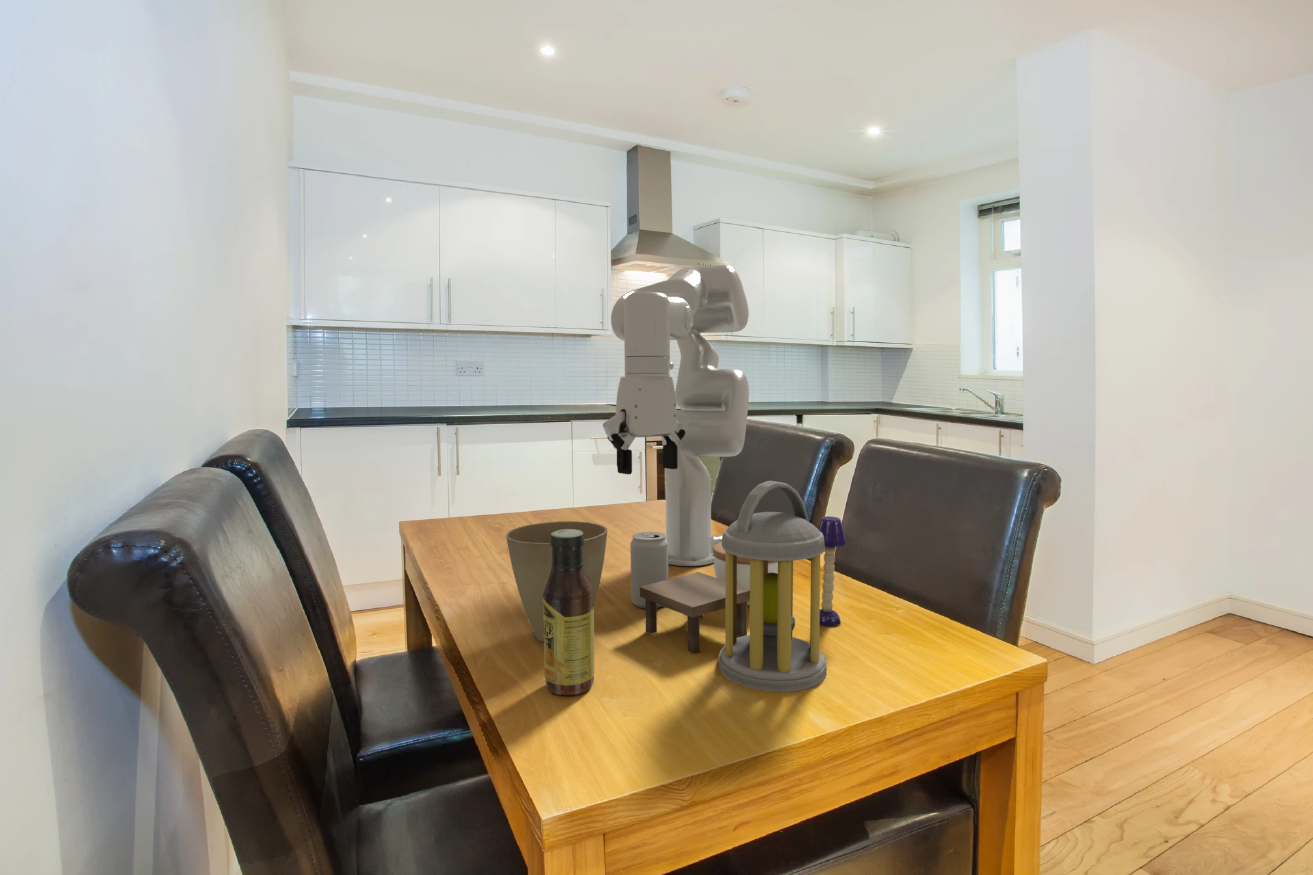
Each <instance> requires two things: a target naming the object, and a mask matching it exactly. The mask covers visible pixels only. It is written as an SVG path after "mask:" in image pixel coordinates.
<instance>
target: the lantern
mask: <svg viewBox="0 0 1313 875" xmlns="http://www.w3.org/2000/svg"><path fill="white" fill-rule="evenodd" d="M776 488H779V489H780V490H781V491H782V492H784V493H785V495H786V496H787V498H788V500H789V501H790V503H791V508H792V510H793V514H794V515H793V514H791V513H787V512H779V511H778V512H776V511H763V512H755V510H756V509H757V507H758V504H760V501H761V499H762V498H763V497H765V495H766V494H767V493H768V492H769V491H771V490H773V489H776ZM754 512H755V513H754ZM721 536H722V548H723V549H724V550H725V581H726V608H725V644H724V645H723V646H722V648H721V649H720V651H719V654H718V668H719V670H720V672H721V675H723V676H725V678H727V679H728V680H729V681H731V682H734V683H735V684H737V685H740V686H742V687H744V688H745V687H746V688H750V689H754V690H756V691H757V690H758V691H765V692H776V693H780V692H781V693H783V692H798V691H801V690H806V689H810V688H813V687H814V686H817V685H818V684H820V683H822V682H823V681H824V679H826V677H827V675H828V674H827V671H828V670H827V668H828V667H827V666H828V665H827V657H826V656H825V655H824V653H822V651H821V650H820V625H819V620H820V609H821V608H820V607H821V606H820V604H821V602H820V601H821V596H820V595H821V555H822V554H823V553H825V543H824V536H823V534H822V533H821V532H820V531H819V530H818V527H816V526H815V525H814V524H813V523H811V522H809V519H808V513H807V511H806V507H805V504H804V500H803V499H802V498H801V496H800V494H799V492H798V491H797V490H796V489H795V488H794V487H792V486H791V485H790V484H788V483H785V482H781V481H774V480H766V481H765V482H761V483H759V484H758V485H756V486H755V487H754V488H753V489H752V490H751V491H750V492H749V494H748V495H747V496H746V499H745V500H744V502H743V504H742V505H741V508H740V511H739V515H738V519H737V520H735V521H734V522H731V524H730V525H728V527H727V528H725V529H724V531H723V534H722V535H721ZM737 556H740V557H744V558H750V605H749V634H747V635H746V636H742V637H740V636H738V635H737ZM808 559H810V614H809V616H810V617H809V618H810V620H809V621H810V622H809V623H810V624H809V627H810V630H809V634H810V635H809V642H808V641H807V640H803V639H800V638H798V637H795V636H793V631H794V629H795V626H796V618H795V617H794V615H793V614H794V613H793V612H794V611H793V610H794V609H793V607H794V606H793V605H794V602H793V601H794V598H793V597H794V596H793V594H794V589H793V588H794V586H793V585H794V561H800V560H808ZM768 560H770V561H778V574H777V573H768Z"/></svg>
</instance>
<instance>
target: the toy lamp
mask: <svg viewBox="0 0 1313 875" xmlns="http://www.w3.org/2000/svg"><path fill="white" fill-rule="evenodd" d="M817 529H818V530H819V531H820V532H821V533H822V534H823V536H824V543H825V552H824V554H823V562H824V563H823V574H822V580H823V583H822V586H821V588H822V592H821V603H820V604H821V606H820V607H821V608H820V620H819V626H823V627H836V626H839V625H841V616H840V615H839V614H838V612H837V611H835V610H833V599H834V593H833V591H834V587H835V585H834V581H835V569H836V568H835V567H836V566H835V561H836V556H835V553H836V548H840V547H841V548H842V547H844V546H846V538H845V533H844V532H845V531H844V527H843V523H842V520H841V518H839V517H836V516H831V515H830V516H822V517H821V519H820V521H819V525H818V527H817Z"/></svg>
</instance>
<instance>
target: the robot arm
mask: <svg viewBox="0 0 1313 875" xmlns="http://www.w3.org/2000/svg"><path fill="white" fill-rule="evenodd" d="M749 313H750V311H749V304H748V301H747V297H746V293H745V290H744V286H743V283H742V280H741V278H740V276H739V274H738V273H737V271H736V270H735V268H733V267H732V266H731V265H728V264H716V265H715V264H714V265H713V264H712V265H711V264H710V265H694V266H693V265H692V266H686V267H683V268H680V269H679V270H678V271H676V272H675V273H674V274H673V275H672V276H670V277H669V278H668V279H667V280H666V279H665V280H663V281H662V280H661V281H659V282H655V283H652V284H650V285H646V286H642V287H639V288H634V289H632V290H630V291H628V292H626V293H624V294H623V295H622V296H620V297H619V298H618V299H617V300H616V302H615V304H614V305H613V307H612V310H611V315H610V324H611V325H610V326H611V328H612V331H613V333H614V334H615V336H616V337H617V338H618V339H619V340H621V341H623V342H624V344H623V345H624V349H623V351H624V376H620V379H619V382H618V387H617V388H618V389H617V393H616V402H615V404H616V405H615V415H613V416H612V417H610V418H608V419H607V420H606V421H605V422H603V424H602V427H603V430H604V432H605V435H607V440H608V441H609V442H610V443H611V444H612V447H613V448H614V450H616V467H617V473H618V474H622V475H631V474H633V451H632V449H629V448H630V447H631V445H632V444H633V442H634V440H635V439H636V438H651V437H661V441H662V442H661V444H662V467H663V468H664V469H665V532H666V533H665V535H666V537H665V539H666V540H667V542H668V565H674V566H679V567H680V566H682V567H697V566H706V565H710V564H714V555H713V546H714V545H715V544H717V543H719V542H722V536H723V535H718V536H716V537H715V535H712V505H711V503H712V497H711V496H712V490H711V489H712V480H711V479H712V477H711V475H710V472H709V470H708V468H707V467H706V465H705V464H704V463H703V462H702V460H701V459H700V458H699V457H721V458H722V457H727V458H728V457H735V456H738V455H739V454H740V453H742V451H743V449H744V445H745V440H746V430H747V421H748V412H749V411H748V410H749V402H750V398H749V397H750V387H749V380H748V378H747V376H746V374H745V372H743V371H742V370H739V369H736V368H718V367H719V360H720V358H719V354H718V351H717V350H716V348H714V345H712V344H711V343H710V342H709V341H708V340H707V339H706V338H704V337H703V336H702V335H701V334H704V333H705V334H708V333H709V334H711V333H712V334H713V333H736V332H740V331H741V332H742V330H744V329H745V328H746V326H747V325H748V321H749V316H750V315H749ZM671 341H676V343H677V345H678V349H679V353H680V359H679V360H680V362H679V367H678V372H677V378H676V384H675V383H674V380H673V376H671V374H670V373H671V370H673V369H674V363H673V362H672V361H671ZM674 384H675V385H674ZM677 407H678V408H679V409H680V410H677Z"/></svg>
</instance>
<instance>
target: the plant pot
mask: <svg viewBox="0 0 1313 875" xmlns="http://www.w3.org/2000/svg"><path fill="white" fill-rule="evenodd" d="M563 529H575V530H580V531H582V532H583V534H584V545H583V547H582V553H583V562H584V563H583V569H584V571H585V573H586V574H587V576H589V578H590V580H591V583H592V589H593V595H592V597H593V606H594V607H595V603H596V600H597V596H598V592H599V588H600V583H601V579H602V578H601V577H602V572H603V569H604V563H605V562H604V561H605V554H606V549H607V548H606V547H607V538H608V527H606V526H605V525H603V524H600V523H597V522H596V523H595V522H590V521H589V522H587V521H580V520H579V521H577V520H576V521H574V520H563V521H562V520H560V521H559V520H558V521H549V522H548V521H546V522H538V523H531V524H525V525H522V526H518V527H516V528H512V529H511V530H509V531H508V532H506V535H505V536H506V543H507V547H508V552H509V553H508V554H509V559H510V564H511V568H512V572H513V575H514V576H513V577H514V579H515V580H514V581H515V584H516V586H517V590H518V593H519V597H520V600H521V602H522V606H523V609H524V612H525V613H526V617H527V619H528V621H529V624H530V626H531V629H532V630H533V631H532V632H533V634H534V635H535V637H536V638H535V639H536V640H538V641H540V642H542V643H544V631H543V593H544V590H545V587H546V585H547V582H548V579H549V575H550V572H551V569H552V546H551V544H550V539H551V533H552V532H555V531H557V530H563Z"/></svg>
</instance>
